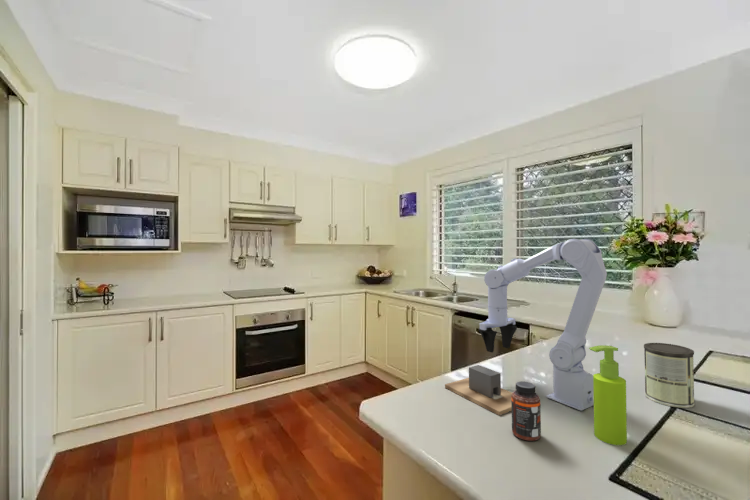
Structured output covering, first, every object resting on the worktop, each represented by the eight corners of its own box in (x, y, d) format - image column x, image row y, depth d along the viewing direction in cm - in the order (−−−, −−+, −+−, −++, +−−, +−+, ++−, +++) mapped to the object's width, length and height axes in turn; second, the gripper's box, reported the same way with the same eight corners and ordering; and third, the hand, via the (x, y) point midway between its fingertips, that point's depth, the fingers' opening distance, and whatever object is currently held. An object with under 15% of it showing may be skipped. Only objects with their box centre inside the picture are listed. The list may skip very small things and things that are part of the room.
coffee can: (638, 389, 98) (637, 341, 98) (682, 394, 94) (681, 344, 94) (654, 405, 88) (653, 351, 88) (704, 410, 85) (703, 355, 85)
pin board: (529, 403, 90) (529, 392, 90) (499, 415, 84) (499, 403, 84) (473, 379, 107) (473, 370, 107) (444, 387, 101) (444, 377, 101)
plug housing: (500, 394, 93) (500, 373, 93) (490, 398, 91) (490, 376, 91) (478, 384, 100) (478, 364, 100) (469, 387, 98) (468, 367, 98)
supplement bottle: (544, 443, 72) (543, 390, 72) (514, 441, 73) (514, 388, 73) (536, 429, 77) (536, 380, 77) (509, 426, 79) (508, 378, 79)
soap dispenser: (583, 431, 76) (582, 343, 76) (612, 429, 77) (610, 342, 77) (603, 446, 70) (601, 351, 70) (634, 444, 71) (632, 349, 71)
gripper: (502, 303, 114) (503, 343, 114) (471, 307, 107) (472, 350, 107) (520, 306, 108) (521, 348, 108) (489, 310, 101) (490, 356, 101)
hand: (498, 349), depth 107 cm, fingers open, 7 cm apart
